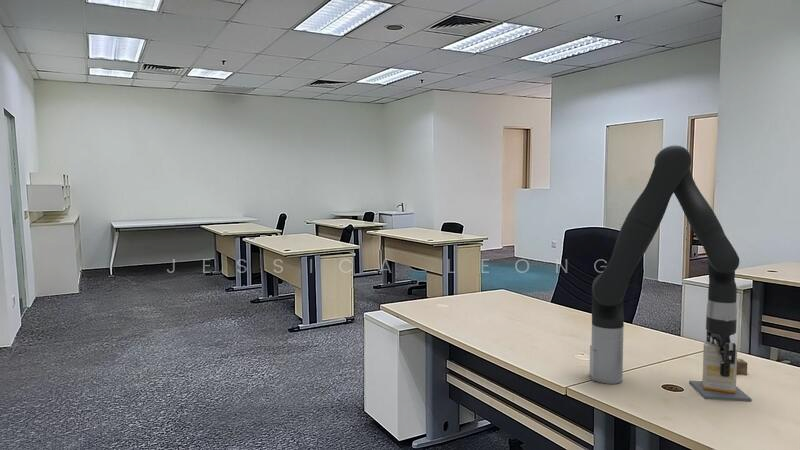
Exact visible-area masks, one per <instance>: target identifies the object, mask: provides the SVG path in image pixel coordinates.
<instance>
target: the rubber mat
mask: <svg viewBox="0 0 800 450" xmlns="http://www.w3.org/2000/svg"><path fill="white" fill-rule="evenodd" d="M688 384H689V385H690V386H692V388H694V390H695V391H696V392H697V393H698V394H699V395H700V396H701V397H702V398H703V399H704V400H717V401H718V400H720V401H721V400H722V401H736V402H737V401H739V402H752V398H751V397H750V396H749V395H748V394H746V392H744V391H743V390H741V388H739V387H738V386H737V385H736V393H729V392H722V391H715V390H708V389H703V380H688Z"/></svg>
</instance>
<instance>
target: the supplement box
mask: <svg viewBox="0 0 800 450" xmlns="http://www.w3.org/2000/svg"><path fill="white" fill-rule="evenodd" d="M737 348H738V347H736V351H735V364H730V376H729V377H722V376H721V375H720V367H721V361H720V356H718V354H717V349H716V346H715V344H712V343H710V342H706V341H704V342H703V352H702V353H703V356H702V359H703V360H702V361H703V362H702V367H703V368H702V381H703V389H708V390H715V391H722V392H729V393H736V386H737V375H736V371H737V359H738V349H737ZM721 352H724V351H721ZM723 358H724V356H723ZM727 359H728V358H727Z"/></svg>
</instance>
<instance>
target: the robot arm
mask: <svg viewBox="0 0 800 450" xmlns="http://www.w3.org/2000/svg"><path fill="white" fill-rule="evenodd" d="M691 165H692V155H691V154H690V151H688V150H687V148H686V147H683V146H681V145H675V144H674V145H668V146H666V147H664V148H663V149H661V150H660V151H659V152H658V153H657V154H656V156H655V159H654V166H653V169H652V172H651V175H650V176H649V179H648V181H647V184H646V186H645V188H644V189H643V191H642V192H641V194H640V195H639V196H638V197H637V199H636V201H635V202H634V204H633V205H632V206H631V208H630V210H629V212H628V213H627V216H626V217H625V219H624V222H623V224H622V226H621V227H620V230H619V232H618V236H617V238H616V240H615V244H614V249H613V251H612V254H611V257H610V258H609V262H608V263H607V265H606V266H605V268H604V269H603V271H602V273H600V274H598V275H597V276H596V277H595V278H594V279H593V282H592V285H591V286H592V288H591V345H589V376H590V378H591V380H592V381H593V382H597V383H602V384H608V385H609V384H612V385H613V384H620V383H622V382H623V376H624V374H623V373H624V372H623V371H624V368H623V365H624V329H625V328H624V324H625V323H624V322H625V317H624V297H625V295H626V293H627V289H628V287H629V284H630V281H631V279H632V276H633V273H634V272H635V270H636V267H637V265H638V264H639V263H640V261H641V260H642V258H643V256H644V254H645V253H646V252H647V249H648V248H649V246H650V244H651V243H652V241H653V239H654V237H655V235H656V233H657V231H658V230H659V227H660V224H661V223H662V220H663V218H664V216H665V214H666V212H667V207H668V205H669V202H670V200H671V198H672V196H673V194H674V195H675V197H676V199H677V201H678V203H679V205H680V207H681V209H682V211H683V214H684V215H685V218H686V219H687V222H688V224H689V226H690V228H691V230H692V232H693V234H694V235H695V238H696V240H698V241H699V243H700V244H701V246H702V247H703V250H704V252H705V254H706V256H707V258H708V259H707V268H708V269H707V271H708V291H707V293H708V294H707V304H706V312H705V313H706V314H705V315H706V316H705V317H706V318H705V330H706V336H705V337H706V341H705V342H710V343H712V344H715V346H716V349H717V354H718V356H720V361H721V367H720V375H721V376H722V377H729V376H730V364H735V351H736V348H737V345H736V343H734V342H733V343H732V342H731V337H730V336H733V335H735V334H737V325H738V324H737V323H738V321H737V319H738V318H737V317H738V307H737V298H738V297H737V294H738V290H737V283H736V270H737V269H738V268H739V266H740V257H739V255H738V253H737V251H736V249H735V247H734V246H733V244H732V243H731V241H730V240H729V238H728V237H727V236H726V234H725V231H724V229H723V227H722V225H721V223H720V221H719V219H718V217H717V215H716V213H715V212H714V210H713V209H712V207H711V205H710V204H709V203H708V201H707V199H706V198H705V197H704V195H703V194H702V193H701V191H700V189H699V188H698V186H697V184H696V182H695V180H694V177H693V175H692V172H691ZM721 351H724V352H721ZM723 356H724V358H723ZM727 358H728V359H727Z"/></svg>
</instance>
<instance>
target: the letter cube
mask: <svg viewBox="0 0 800 450" xmlns="http://www.w3.org/2000/svg"><path fill="white" fill-rule="evenodd" d="M736 374H737V375H739V376H748V362H747V361H745V360H744V359H742V358H737V371H736ZM737 375H736V376H737Z"/></svg>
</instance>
